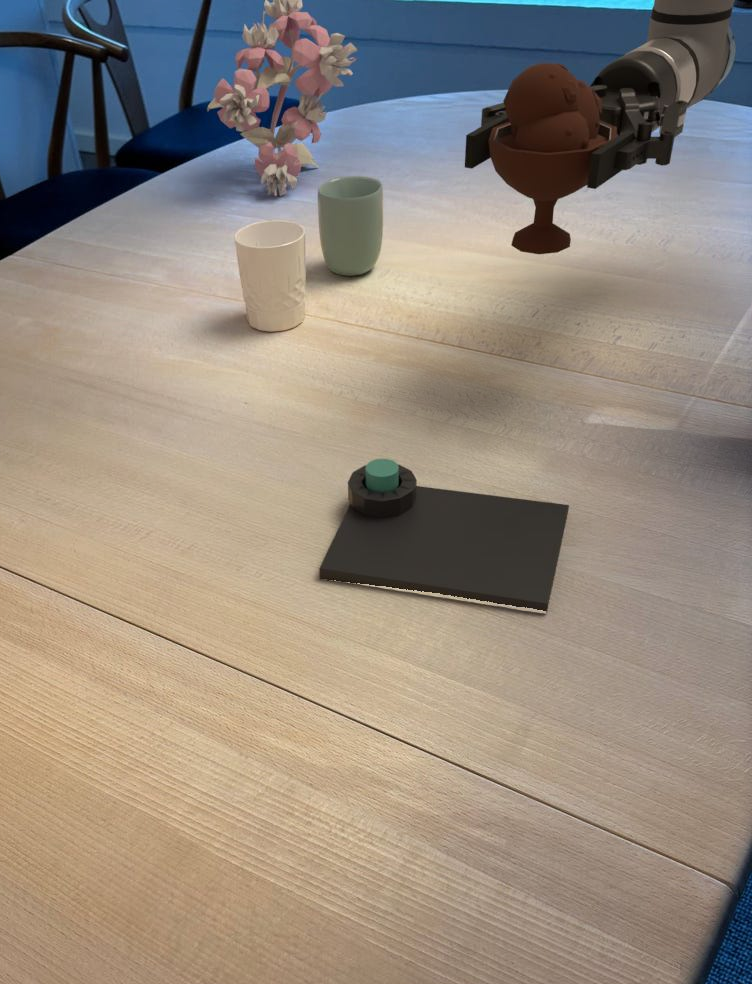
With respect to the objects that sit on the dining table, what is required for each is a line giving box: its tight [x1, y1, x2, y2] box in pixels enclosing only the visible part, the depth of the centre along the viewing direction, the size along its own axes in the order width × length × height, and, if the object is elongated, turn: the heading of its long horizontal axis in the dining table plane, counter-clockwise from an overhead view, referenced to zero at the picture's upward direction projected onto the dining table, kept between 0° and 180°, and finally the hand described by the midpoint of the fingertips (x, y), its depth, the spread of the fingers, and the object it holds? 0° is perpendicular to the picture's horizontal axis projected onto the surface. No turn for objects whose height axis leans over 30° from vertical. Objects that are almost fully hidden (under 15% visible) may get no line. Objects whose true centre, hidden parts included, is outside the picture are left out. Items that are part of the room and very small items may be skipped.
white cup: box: [233, 219, 307, 333], centre depth 111 cm, size 8×8×10 cm
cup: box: [317, 175, 384, 277], centre depth 120 cm, size 8×8×10 cm
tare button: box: [365, 458, 399, 493], centre depth 83 cm, size 3×3×2 cm
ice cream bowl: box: [489, 62, 617, 255], centre depth 86 cm, size 11×11×15 cm
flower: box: [206, 0, 358, 197], centre depth 144 cm, size 20×22×25 cm
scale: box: [319, 464, 570, 612], centre depth 80 cm, size 18×13×3 cm
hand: (529, 161), depth 84 cm, fingers closed on ice cream bowl, 11 cm apart
